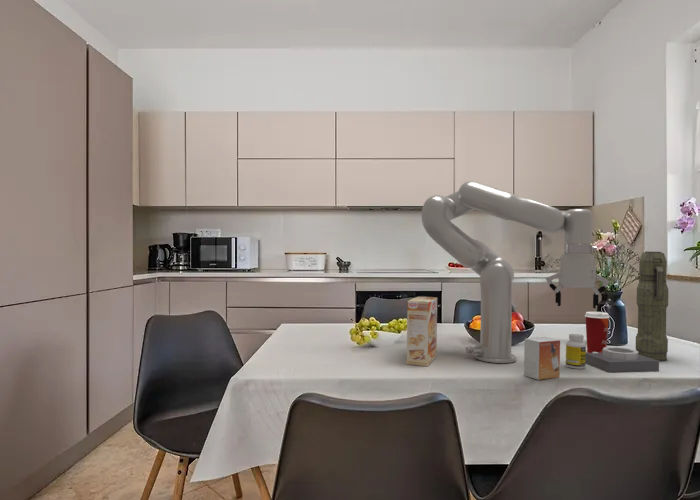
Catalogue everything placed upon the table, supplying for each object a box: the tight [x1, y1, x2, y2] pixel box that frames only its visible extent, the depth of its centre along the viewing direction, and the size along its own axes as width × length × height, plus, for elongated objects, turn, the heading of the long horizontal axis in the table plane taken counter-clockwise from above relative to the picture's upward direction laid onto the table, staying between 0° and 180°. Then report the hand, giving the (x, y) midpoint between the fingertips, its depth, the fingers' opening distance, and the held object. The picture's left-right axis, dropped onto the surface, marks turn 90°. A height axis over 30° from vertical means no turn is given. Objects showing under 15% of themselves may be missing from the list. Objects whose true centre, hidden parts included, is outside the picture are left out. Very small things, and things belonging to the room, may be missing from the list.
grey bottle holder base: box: [585, 346, 660, 373], centre depth 148 cm, size 16×12×5 cm
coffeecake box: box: [406, 295, 438, 367], centre depth 154 cm, size 15×7×20 cm, turn 160°
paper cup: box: [584, 311, 610, 353], centre depth 165 cm, size 8×8×14 cm
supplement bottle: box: [565, 333, 587, 370], centre depth 147 cm, size 5×5×10 cm
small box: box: [523, 336, 561, 381], centre depth 136 cm, size 8×6×10 cm
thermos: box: [635, 251, 669, 363], centre depth 159 cm, size 9×12×35 cm
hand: (576, 306), depth 147 cm, fingers open, 9 cm apart
